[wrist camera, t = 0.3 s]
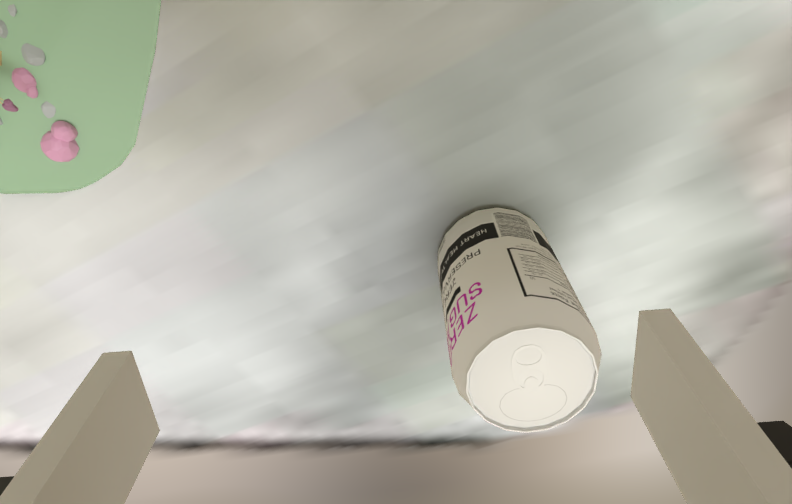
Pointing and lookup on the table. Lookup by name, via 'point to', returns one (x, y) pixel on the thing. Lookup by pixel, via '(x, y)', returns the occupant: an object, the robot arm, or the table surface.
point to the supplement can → (514, 324)
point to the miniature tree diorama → (71, 89)
